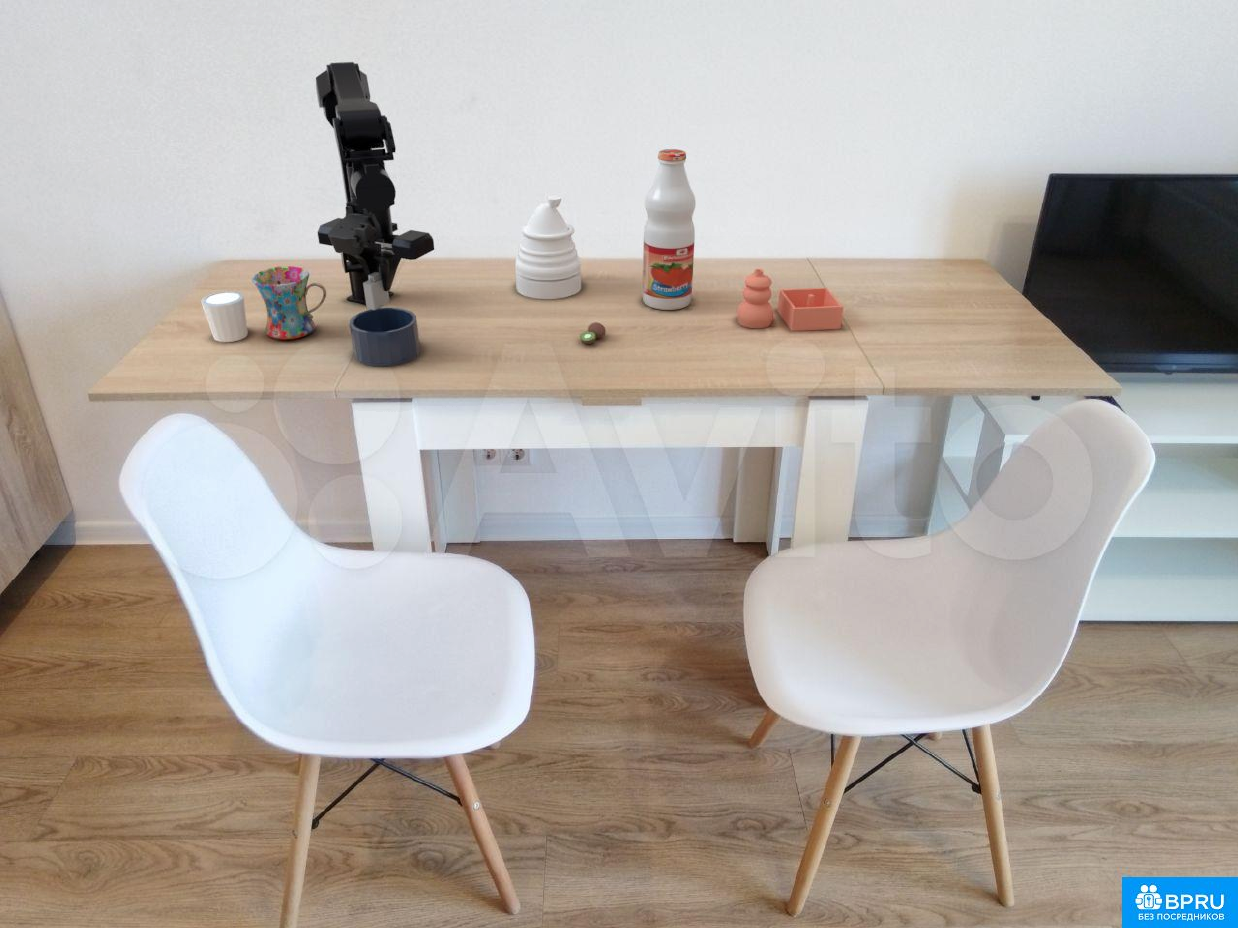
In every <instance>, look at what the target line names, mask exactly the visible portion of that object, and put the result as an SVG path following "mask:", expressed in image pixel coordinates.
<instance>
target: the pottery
mask: <svg viewBox="0 0 1238 928" xmlns="http://www.w3.org/2000/svg"><path fill="white" fill-rule="evenodd" d="M753 271H754V272H753V273H751V274H749V275H747V276H746V277H745V278H744V280H743V283H744V285H745V286H744V287H743V288H742V289H743V290H742V294H741V295H742V298H743V301H742V302H741V303H740V304H739V305H738V307H737V311H736V317H737V322H738V324H739V325H741V326H742V327H745V328H749V329H763V328H767V327H769V326H770V325H771V323H772V320H773V318H774V309H773V306H772V305H771V303H770V302H769V301H770V300H771V298H772V290H771V288H770V287H771V285H772V284H773V282H772V279H771V277H769V276H768V275H766V274H764V272H765V271H764V269H762V268H755V269H754V270H753ZM777 303H778V304H777V312H778V314H779V316H781V318H782V319H783V321H784V322H785V324H786V325H787V327H788V328H789V329H790V331H791V332H796V331H798V332H799V331H820V330H822V331H823V330H840V329H841V326H842V320H843V313H844V305H843V304H841V302H840V301H839V300H838V299H837V297H835V295H834V293H832V292H831V291H830V289H829V288H828V287H809V288H787V289H785V288H784V289H779V293H778V302H777Z"/></svg>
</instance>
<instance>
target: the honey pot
mask: <svg viewBox="0 0 1238 928" xmlns="http://www.w3.org/2000/svg"><path fill="white" fill-rule="evenodd" d="M546 200H547V202H542V203H541V204H539V205H538V206H537V207H536V208H535V209H534V211H533V212H532V214H531V216H530V218H529V221H528V223H527V224H525V225H524V226H523V227H522V229H521V230H522V231H521V232H522V234H523V237H522V240H521V242H520V243H519V250H518V252H517V257H516V259H515V264H514V266H515V286H516V287H515V289H516V291H517V292H518V293H519V294H520V295H522V296H524V297H527V298H531V299H537V300H559V299H564V298H568V297H571V296H574V295H576V294H577V293H579V292H580V291H581V289H582V263H581V258H580V257H579V255H578V250H577V249H576V243H575V242H574V240H573V238H572V236H573V234H574V233H575V227H574V226H573V225H572V224H571V223H568V222H566V221H565V219H564V218H563V216H562V214H561V213H560V211H559V210H558V207H560V205H561V202H562V197H561V196H559V195H549V196H547V199H546Z"/></svg>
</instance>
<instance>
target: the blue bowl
mask: <svg viewBox="0 0 1238 928" xmlns="http://www.w3.org/2000/svg"><path fill="white" fill-rule="evenodd" d="M348 326H349V330H350V337H351V343H352V351H353V355H354V359H355V360H356V361H357V362H359V363H360V364H362V365H365V366H369V367H381V368H382V367H384V368H385V367H393V366H399V365H402V364H406V363H408V362H411V361H413V360H414V359H416V358H417V357H418V356H419V354H420V352H421V349H420V339H419V330H418V329H419V328H418V321H417V315H416V314H415V313H414V312H412V311H410V310H408V309H406V308H401V307H380V308H378V309H376V310H371V309H367V310H364V311H362V312H359V313H357V314H356V315H355V314H354V315H353V316H352V318H350V320H349V325H348Z"/></svg>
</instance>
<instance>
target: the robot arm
mask: <svg viewBox="0 0 1238 928" xmlns="http://www.w3.org/2000/svg"><path fill="white" fill-rule="evenodd" d="M315 89H316V95H317V103H318V107H319V109H322V110H323V115H324V117H325V119H326V121H327V122H328V123H329V124H330V126H331V128H332V129H333V132H334V137H335V143H336V148H337V151H338V157H339V161H340V167H341V176H342V181H343V187H344V189H343V190H344V196H345V201H346V203H345V216H344V217H342V218H341V217H337V218H335V219H332V220H330V221H327V222H325V223H323V224H320V225H319V227H318V230H317V232H316V233H317V237H318V239H317V240H318V244H320V245H325V246H330V247H333V249H334V252H335V253H338V254H340V258H341V264H342V268H343V271H344V274H348V277H349V282H350V283H349V285H350V290H351V295H349V296H347V297H346V300H347V301H349V302H354V303H357V304H358V303H359V304H363V305H366V299H365V293H364V286H363V283H364V282H366V281H368V280H369V277H368V275H370V274H372V273H374V272H379V265H380V270H381V277H382V284H383V287H384V291H388V293H389V298H391V297H392V296H394V294H395V293H394V291H390V290H391V288H392V285H393V283H394V279H395V277H396V274H397V271H398V268H399V265H400V262H401V260H402V259H403V260H409V261H414V260H418V259H419V258H421V257H423V256H425V255H427V254H429V253H431V252H433V251H434V250H435V242H434V237H433V236H432V235H431V234H430V233H429V232H425V231H419V230H413V229H409V230H407V231H406V232H403V233H401V234H394V232H396V231H398V230H399V229H398V223H397V222H392V221H393V220H392V212H391V206H394V205H396V203H395V199H396V194H397V193H396V187H395V185H394V182H393V181H392V179H391V177H390V175H389V174H388V172H387V170H386V164H385V162H387V161H394V160H395V158H394V154H395V153H396V148H397V147H396V144H395V138H394V134H393V129H392V125H391V123H390V121H389V120H388V117H387V116H386V115H385V114H384V115H382V112H381V110H380V107H379V105H378V104H377V103H376V102H373V101H371V92H370V91H371V90H370V86H369V81H368V75H367V74H366V73H364V72H363V71H362V70H360V66H359V63H358V62H357V63H355V62H354V61H342V62H341V61H340V62H330V63H329V64H326V68H325V70H324V71H322V72H321V73H320V74H319V75H317V76H316V77H315Z"/></svg>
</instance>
